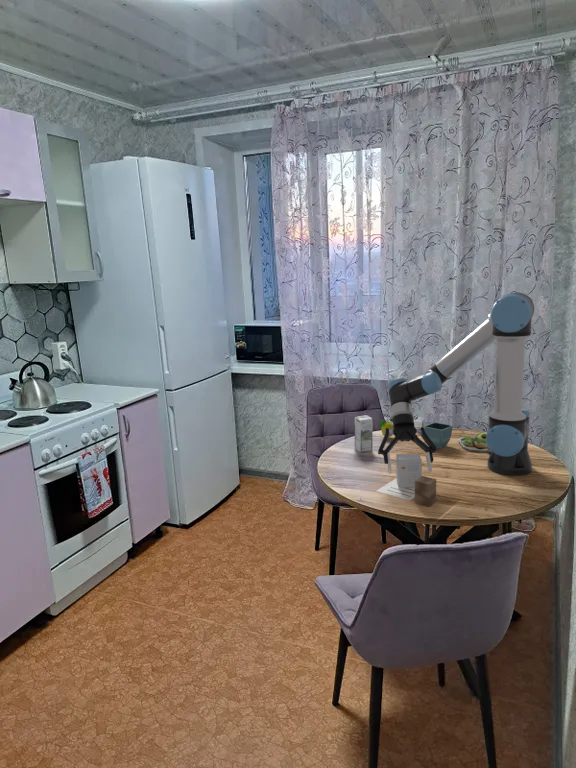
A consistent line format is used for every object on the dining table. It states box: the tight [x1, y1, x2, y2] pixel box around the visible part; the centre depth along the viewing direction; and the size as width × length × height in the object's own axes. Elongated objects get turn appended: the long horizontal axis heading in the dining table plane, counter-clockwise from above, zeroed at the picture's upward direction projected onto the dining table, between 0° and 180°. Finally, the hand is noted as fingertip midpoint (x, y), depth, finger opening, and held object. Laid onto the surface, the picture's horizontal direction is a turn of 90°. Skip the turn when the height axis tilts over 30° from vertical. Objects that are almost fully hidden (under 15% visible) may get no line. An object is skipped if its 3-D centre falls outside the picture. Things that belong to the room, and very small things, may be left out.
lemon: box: [378, 416, 394, 439], centre depth 229 cm, size 7×6×10 cm
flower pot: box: [423, 422, 454, 449], centre depth 215 cm, size 9×9×9 cm
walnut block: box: [414, 475, 437, 508], centre depth 163 cm, size 5×5×8 cm
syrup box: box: [354, 414, 374, 454], centre depth 214 cm, size 6×6×14 cm
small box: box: [395, 453, 423, 488], centre depth 177 cm, size 8×6×10 cm
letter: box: [376, 477, 415, 502], centre depth 176 cm, size 13×16×1 cm
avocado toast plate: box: [458, 431, 492, 453], centre depth 213 cm, size 19×18×5 cm
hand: (410, 471), depth 174 cm, fingers open, 13 cm apart
